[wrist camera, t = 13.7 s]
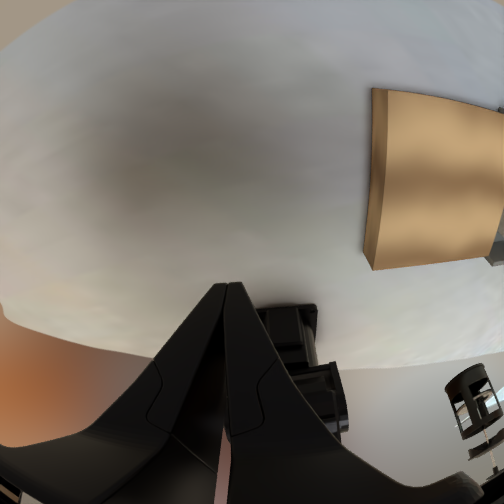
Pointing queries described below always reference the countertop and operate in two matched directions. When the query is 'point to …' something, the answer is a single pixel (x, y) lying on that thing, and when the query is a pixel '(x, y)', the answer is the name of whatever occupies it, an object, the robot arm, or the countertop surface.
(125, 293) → the countertop surface
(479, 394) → the french press
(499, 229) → the cream rectangular block
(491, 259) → the tray
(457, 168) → the oak board
